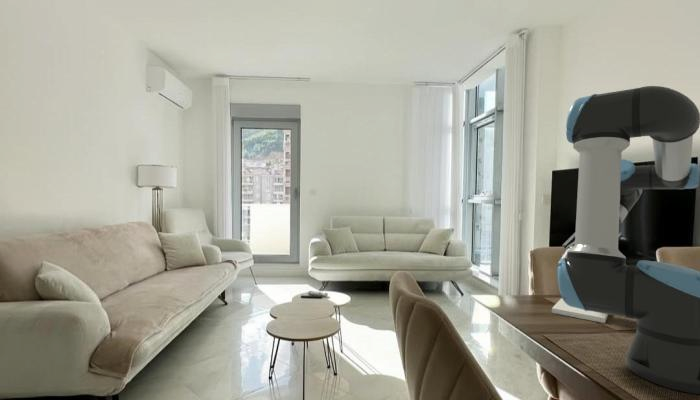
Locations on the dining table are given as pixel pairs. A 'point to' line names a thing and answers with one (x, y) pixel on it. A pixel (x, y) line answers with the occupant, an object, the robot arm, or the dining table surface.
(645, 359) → the robot arm
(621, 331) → the dining table surface
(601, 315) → the trivet
